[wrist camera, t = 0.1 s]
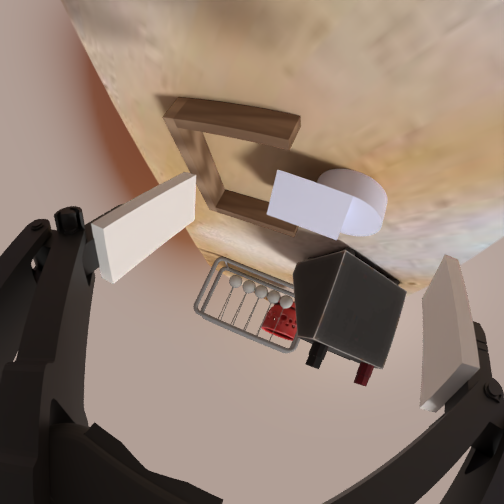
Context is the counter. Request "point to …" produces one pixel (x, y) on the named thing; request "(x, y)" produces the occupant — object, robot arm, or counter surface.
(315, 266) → the voltmeter
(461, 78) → the counter surface
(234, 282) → the newton's cradle
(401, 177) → the counter surface
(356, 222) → the wedge on round base
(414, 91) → the counter surface
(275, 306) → the plant pot
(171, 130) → the walnut bay
